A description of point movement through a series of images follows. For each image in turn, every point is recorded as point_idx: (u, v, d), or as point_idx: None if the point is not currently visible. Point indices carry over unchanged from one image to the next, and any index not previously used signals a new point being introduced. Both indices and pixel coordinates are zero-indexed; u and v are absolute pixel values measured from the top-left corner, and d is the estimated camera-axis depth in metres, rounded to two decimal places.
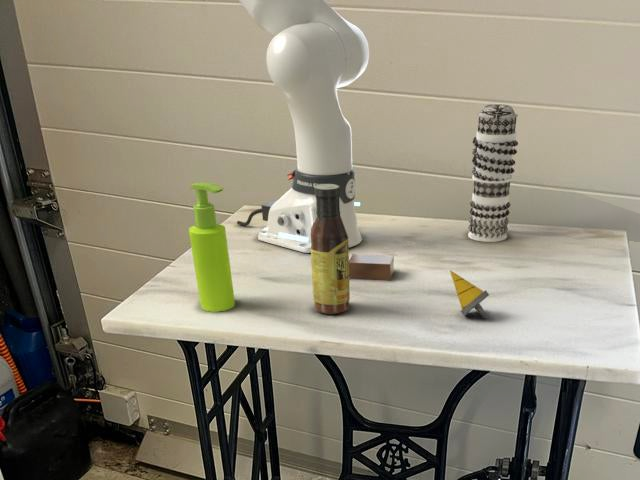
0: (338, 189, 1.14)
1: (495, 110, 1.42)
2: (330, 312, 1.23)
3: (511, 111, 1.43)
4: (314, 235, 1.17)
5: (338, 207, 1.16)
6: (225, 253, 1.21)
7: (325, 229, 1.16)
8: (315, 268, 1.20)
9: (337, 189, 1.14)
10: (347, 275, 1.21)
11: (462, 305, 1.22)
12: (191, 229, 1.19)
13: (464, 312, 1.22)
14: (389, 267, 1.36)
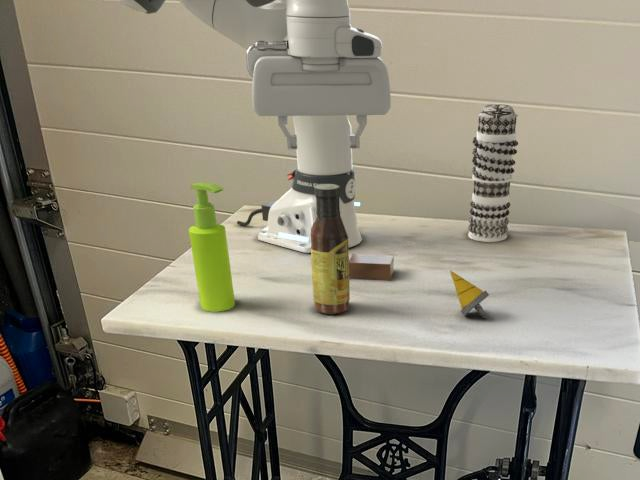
0: (338, 189, 1.14)
1: (495, 109, 1.42)
2: (330, 312, 1.23)
3: (511, 111, 1.43)
4: (314, 235, 1.17)
5: (338, 207, 1.16)
6: (225, 253, 1.21)
7: (325, 229, 1.16)
8: (315, 268, 1.20)
9: (337, 189, 1.14)
10: (347, 275, 1.21)
11: (462, 305, 1.22)
12: (191, 229, 1.19)
13: (464, 312, 1.22)
14: (389, 267, 1.36)
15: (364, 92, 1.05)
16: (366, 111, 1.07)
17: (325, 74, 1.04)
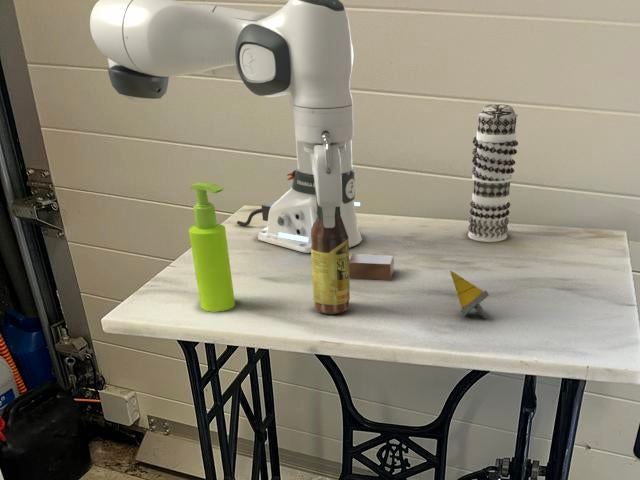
0: None
1: (495, 109, 1.42)
2: (330, 312, 1.23)
3: (511, 111, 1.43)
4: (314, 236, 1.17)
5: (338, 207, 1.16)
6: (225, 253, 1.21)
7: (325, 229, 1.16)
8: (315, 268, 1.20)
9: None
10: (347, 275, 1.21)
11: (462, 305, 1.22)
12: (191, 229, 1.19)
13: (464, 312, 1.22)
14: (389, 267, 1.36)
15: None
16: None
17: None
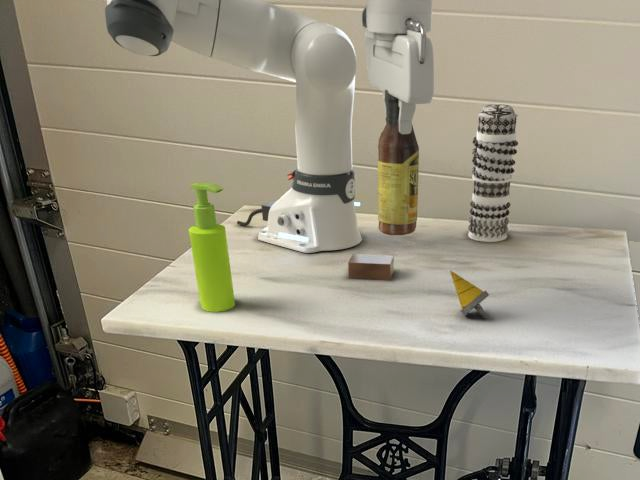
0: None
1: (495, 109, 1.42)
2: (400, 233, 1.14)
3: (511, 111, 1.43)
4: (385, 146, 1.07)
5: None
6: (225, 253, 1.21)
7: (399, 137, 1.06)
8: (385, 183, 1.10)
9: None
10: (417, 190, 1.12)
11: (462, 305, 1.22)
12: (191, 229, 1.19)
13: (464, 312, 1.22)
14: (389, 267, 1.36)
15: None
16: None
17: None
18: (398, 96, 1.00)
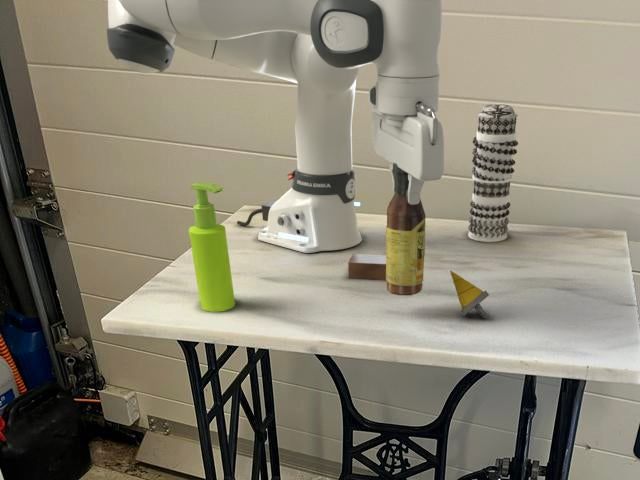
0: None
1: (495, 109, 1.42)
2: (408, 293, 1.19)
3: (511, 111, 1.43)
4: (394, 214, 1.13)
5: None
6: (225, 253, 1.21)
7: (407, 206, 1.12)
8: (394, 248, 1.15)
9: None
10: (424, 253, 1.18)
11: (462, 305, 1.22)
12: (191, 229, 1.19)
13: (464, 312, 1.22)
14: None
15: None
16: None
17: None
18: (409, 172, 1.06)
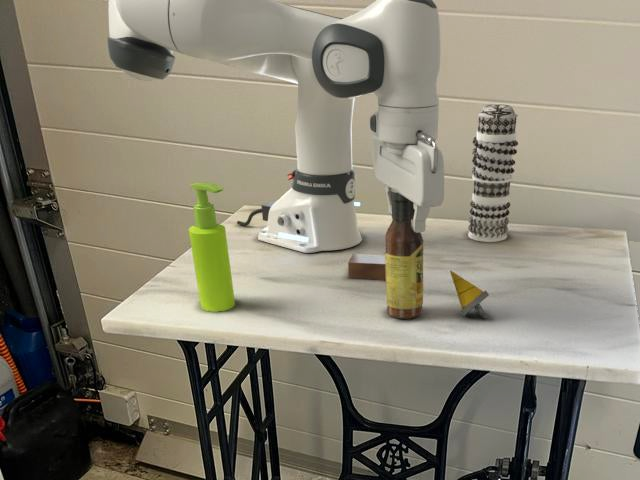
0: None
1: (495, 109, 1.42)
2: (409, 316, 1.22)
3: (511, 111, 1.43)
4: (393, 241, 1.15)
5: None
6: (225, 253, 1.21)
7: (405, 232, 1.14)
8: (394, 273, 1.18)
9: None
10: None
11: (462, 305, 1.22)
12: (191, 229, 1.19)
13: (464, 312, 1.22)
14: None
15: None
16: None
17: None
18: (409, 198, 1.08)
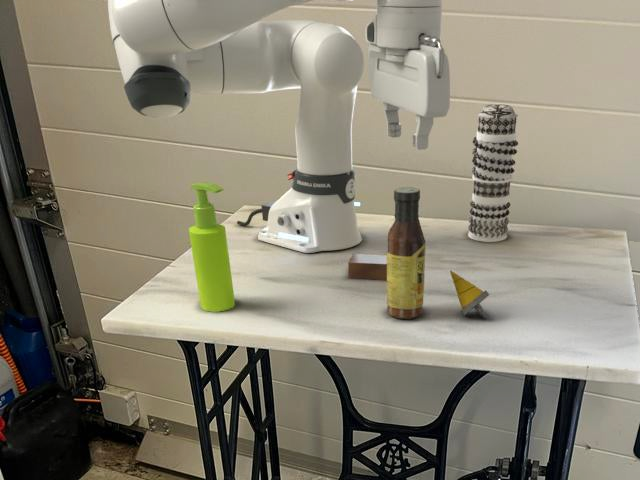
0: (419, 192, 1.13)
1: (495, 110, 1.42)
2: (409, 317, 1.22)
3: (511, 111, 1.43)
4: (395, 240, 1.15)
5: None
6: (225, 253, 1.21)
7: (408, 232, 1.14)
8: (395, 273, 1.18)
9: (419, 192, 1.13)
10: None
11: (462, 305, 1.22)
12: (191, 229, 1.19)
13: (464, 312, 1.22)
14: None
15: None
16: None
17: None
18: (412, 110, 1.01)
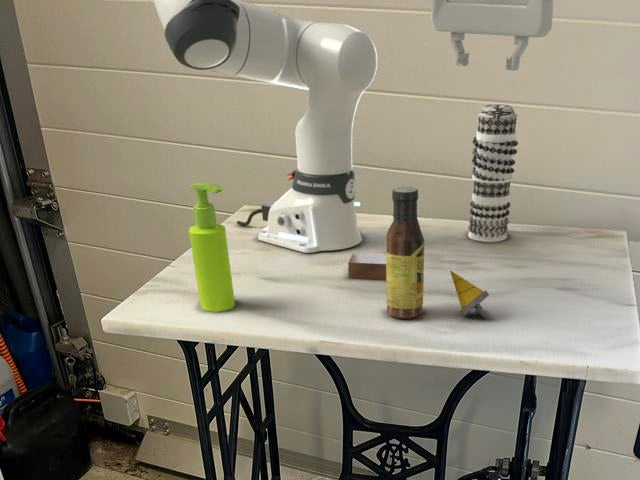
0: (417, 191, 1.13)
1: (495, 109, 1.42)
2: (408, 316, 1.22)
3: (511, 111, 1.43)
4: (394, 240, 1.15)
5: (416, 209, 1.15)
6: (225, 253, 1.21)
7: (406, 232, 1.14)
8: (394, 273, 1.18)
9: (417, 191, 1.13)
10: (423, 277, 1.20)
11: (462, 305, 1.22)
12: (191, 229, 1.19)
13: (464, 312, 1.22)
14: None
15: None
16: None
17: None
18: (514, 33, 1.12)
